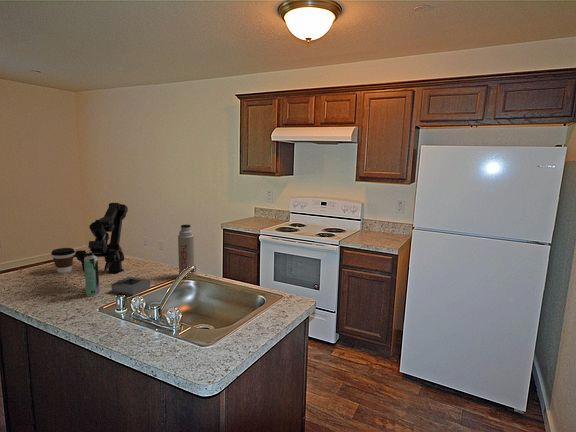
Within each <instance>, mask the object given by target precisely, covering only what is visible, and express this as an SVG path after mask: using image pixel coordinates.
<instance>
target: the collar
mask: <svg viewBox="0 0 576 432" xmlns="http://www.w3.org/2000/svg"><path fill="white" fill-rule="evenodd" d="M150 288H151V279H148V278H143V277H136V276H127V277H126V278H122V279H120V280H118V281H116V282H114V283H111V293H113V294H118V295H120V294H119V293H122V294H121V295H124V294H126V295H125V296H130V297H131V296H132V297H133V295H134V296H136V295H138V294H140V293H142V292H144V291H145V290H146V291H147V289H150ZM141 291H142V292H141ZM139 292H140V293H139ZM137 293H138V294H137ZM135 294H136V295H135Z"/></svg>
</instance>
